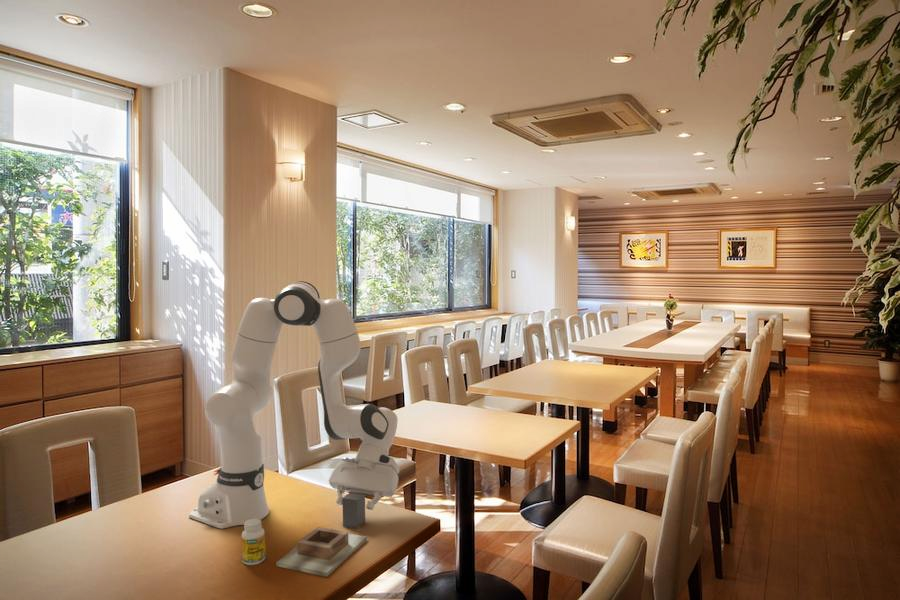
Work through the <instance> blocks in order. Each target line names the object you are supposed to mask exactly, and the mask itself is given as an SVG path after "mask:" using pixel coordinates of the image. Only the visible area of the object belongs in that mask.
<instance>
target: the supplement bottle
mask: <svg viewBox="0 0 900 600" xmlns="http://www.w3.org/2000/svg"><path fill="white" fill-rule="evenodd" d="M262 524H263V523H262V519H261V520H260V519H250V520H247V521H246V522H245V523H244V525H243V528H244V530H242V533H241V548H242V549H241V553H242V555H241V556H242V563H243V564H245V565H247V566H255V565H259V564H260V563H262V562H263V561H265V559H266V535H265V532H266V531H265V529H264V528H263V527H262Z"/></svg>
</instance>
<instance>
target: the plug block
mask: <svg viewBox="0 0 900 600" xmlns="http://www.w3.org/2000/svg"><path fill="white" fill-rule="evenodd" d="M364 522H365V523H366V493H360V492H354V491H349V492H348V493H347V494H346V495H344V496H343V505H342V527H345V526H346V527H345V528H350V527H352V528H351V529H356V528H358V527H359V528H360V527H361V526H363V524H365V523H364ZM359 528H358V529H359Z"/></svg>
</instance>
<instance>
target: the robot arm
mask: <svg viewBox="0 0 900 600" xmlns="http://www.w3.org/2000/svg"><path fill="white" fill-rule="evenodd" d="M241 317H242V318H241V319H240V324H239V326H238V329H237V333H236V336H235V340H234V344H233V349H232V351H231V357H230V359H231V363H232V364H233V370H234V372H233V378H232V381H231V383H230V384H227V385H225V386H221V387H220V388H218V389H217V390H216V391H214V392H213V393H212V394H211V395H210V396H209V397H208V398H207V400H206V401H205V404H204V412H205V413H204V414H205V416H206V419H207V420H208V421H209V422H210V423H211V424H212V425H213V426H214V427H215V430H216V432H217V435H218V439H219V443H220V456H221V457H220V460H221V467H219V469H216V470H214V471H213V473H214V474H213V476H216V475H217V478H216V480H215V481H213V483H212V484H210V485H209V486H208V487H206V488H205V489H204V490H203V491H202V492H201V493H200V495H199V496H198V502H197V506H195V507H194V508H193V509H192V510H191V511H190V512H189V514H188V517H189V518H191V519H193V520H194V521H195V520H196V521H198V522H202V523H203V524H206V525H209V526H212V527H215V528H218V529H226V528H231V527H236V526H242V525H243V526H244V523H245V522H246V521H247V520H250V519H260V520H261V521H262V520H263V519H264V518H266V517H267V516H268V515H269V514H270V508H269V504H268V501H267V498H266V497H267V496H266V493H265V492H266V491H265V485H264V482H265V481H264V480H265V465H264V463H263V445H262V444H263V441H262V440H263V439H262V437H261V435H260V434H259V433H257V431H256V428H255V424H254V416H255V415H257V414H259V413H260V412H262V411H263V410H264V409H265V408H266V407H267V406H268V404H269V403H270V402H271V400H272V397H273V389H272V386H271V369H272V363H273V358H274V355H275V352H276V346H277V343H278V339H279V335H280V331H281V329H282V327H283V326H284V324H286V325H288V326H296V327H297V326H299V327H300V326H303V327H306V326H307V327H310V326H313V327H314V330H315V332H316V335H317V338H318V343H319V346H320V353H321V355H320V359H319V361H318V363H317V372H318V374H317V375H318V380H319V387H320V393H321V399H322V405H323V426H324V429H325V431H326V433H327V435H328V436H329V438H331V439H332V440H334V441H342V440H343V441H344V440H348V439H360V440H361V444H360V445H359V448H358V451H357V453H356V456H355V458H354V457H353V458H352V457H351V458H349V457H342V458H341V459H339V460H338V461H337V462H336V464H335V467H334V469H333V471H332V472H331V475H330V476H329V479H328V484H329V485H330V487H331V488H332V489H334V490H336V492H337V499H336V504H337V505H338V506H340V505H341V506H343V497H344V496H343V494H345V492H346V491H347V492H348V491H349V492H354V493H361V494H367V495H373V496H374V497H373V498H372V499H371V500H368V501H367V503H366V504H365V509H367V510H371V511H373V510H374V508H375V506H376V504H377V503H378V502H379V501H381V499H382V497H387V498H388V497H389V498H392V497H393V496H394V495H395V494H396V493H397V492H396V491H397V488H398V485H399V475H398V474H400V470H401V469H400V466H399V464H398V462H396V460H395V459H394V458H393V457H391V456H390V455H389V451H390V448H391V446H392V444H393V443H394V439H395V436H396V433H397V429H398V416H397V414H396V413H395V412H394V411H393V410H392V409H390V408H387V407H383V406H381V407H380V406H379V407H378V406H377V405H375V404H373V403H372V404H371V403H364V404H363V403H360V404H353V405H352V404H351V405H347V404H345V403H344V402H343V395H342V390H341V384H340V383H341V382H340V376H341V372H342V371H344V370H345V369H346V368H348V367H349V366H351V365H352V364H353V363H354V362H355V361H356V360H357V359H358V357H359V355H360V352H361V346H362V345H361V341H360V337H359V333H358V330H357V326H356V323H355V320H354V318H353V316H352V314H351V311H350V309H349V308H348V305H347V304H346V303H345V302H344V300H342V299H338V298H328V299H321V297H320V293H319V291H318V289H317V288H316V287H315V286H314V285H313V284H312V283H310V282H307V281H295V282H292V283H289V284H287V285H286V286H285V287H283V288H282V290H279V292H278V293H277V294H276V296H275V298H269V297H257V298H254V299H252V300H251V301H249V303H248V304H247V307H246V309H245V310H244V312H243V314H242V316H241Z"/></svg>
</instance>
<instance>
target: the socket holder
mask: <svg viewBox="0 0 900 600" xmlns="http://www.w3.org/2000/svg"><path fill="white" fill-rule="evenodd" d="M366 542H367V536H364V535H359V534H353V533H349V532H348V531H343V530H338V529H334V528H333V529H332V528H325V527H321V526H317V527H316V528H314V530H313V529H312V531H310V532H309V533H308V534H306V535H305V536H304V537H302V538H301V539H300V540H298V541H297V542H296V543H297V545H296V546H295V547H294V548H293V549H292V550H290V551H289V552H288V553H287V554H285V555H284V556H282V557H281V558H279V560H277V561H276V562H275V563H276V567H278V568H279V567H280V568H284V569H288V570H293V571H297V572H301V573H307V574H312V575H314V576H315V575H316V576H320V577H326V578H327V577H329V576H330V575H331V574H332V573H333V572H334V571H336V569H337V568H339V567H340V566H341V563H342V562H343V561H344V560H345V561H346V560H347V559H348V558H349V557H350V556H352V555H353V554H354V553H355V552H356V551H357V550H358V549H359V548H361V546H362V545H364V544H365V543H366ZM353 552H354V553H353ZM345 561H344V562H345ZM344 562H343V563H344ZM343 563H342V564H343Z"/></svg>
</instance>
